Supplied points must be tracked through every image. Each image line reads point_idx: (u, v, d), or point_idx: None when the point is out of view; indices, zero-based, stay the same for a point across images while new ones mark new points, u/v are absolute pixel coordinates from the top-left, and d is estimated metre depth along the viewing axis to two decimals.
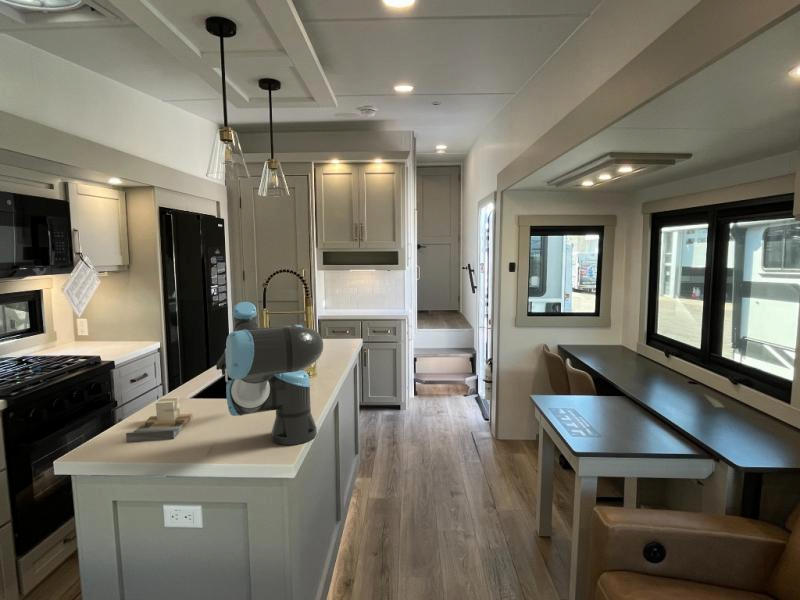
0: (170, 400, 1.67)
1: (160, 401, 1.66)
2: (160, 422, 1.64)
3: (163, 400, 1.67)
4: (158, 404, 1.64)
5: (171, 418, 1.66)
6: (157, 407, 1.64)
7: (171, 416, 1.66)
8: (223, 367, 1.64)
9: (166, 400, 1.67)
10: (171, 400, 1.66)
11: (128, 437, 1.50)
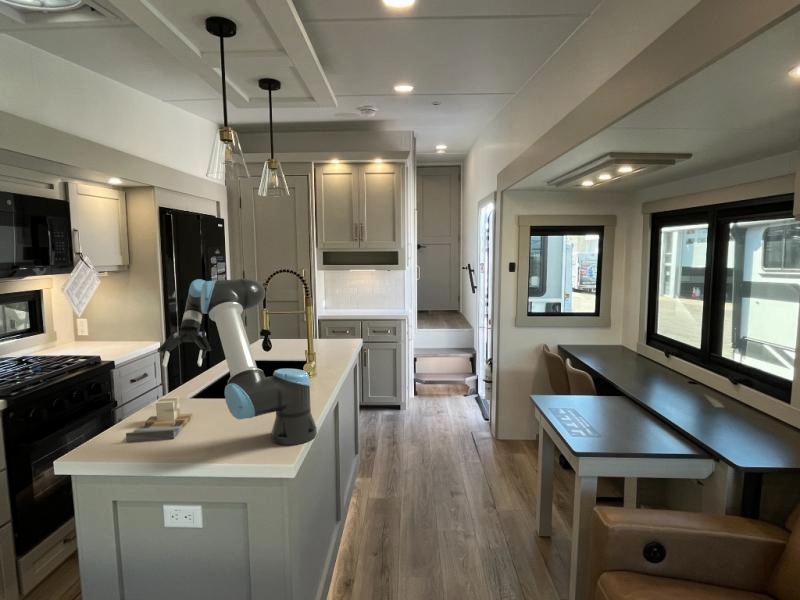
0: (170, 400, 1.67)
1: (160, 401, 1.66)
2: (160, 422, 1.64)
3: (163, 400, 1.67)
4: (158, 404, 1.64)
5: (171, 418, 1.66)
6: (157, 407, 1.64)
7: (171, 416, 1.66)
8: (165, 347, 1.86)
9: (166, 400, 1.67)
10: (171, 400, 1.66)
11: (128, 437, 1.50)
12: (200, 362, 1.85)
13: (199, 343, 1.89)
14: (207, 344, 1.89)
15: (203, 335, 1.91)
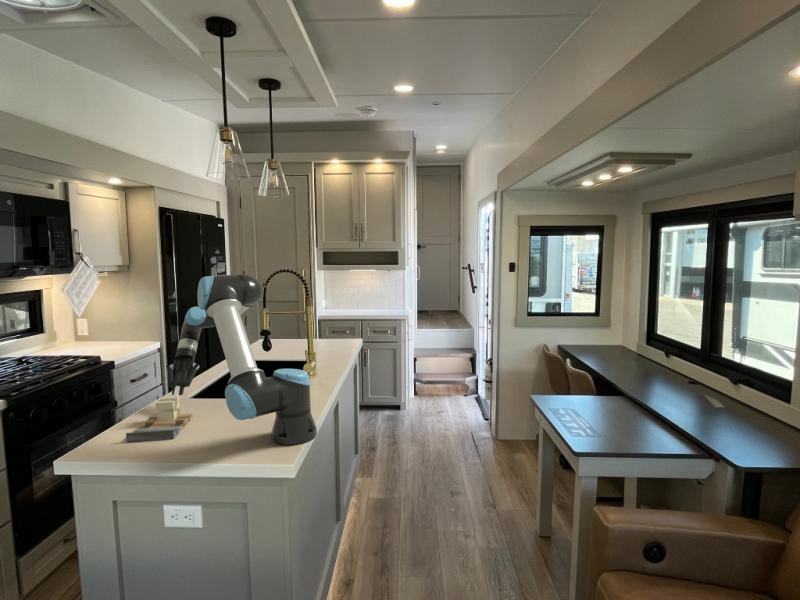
0: (170, 400, 1.67)
1: (160, 401, 1.66)
2: (160, 422, 1.64)
3: (163, 400, 1.67)
4: (158, 404, 1.64)
5: (171, 418, 1.66)
6: (157, 407, 1.64)
7: (171, 416, 1.66)
8: (173, 383, 1.80)
9: (166, 400, 1.67)
10: (171, 400, 1.66)
11: (128, 437, 1.50)
12: None
13: (183, 377, 1.81)
14: (188, 379, 1.81)
15: (193, 368, 1.84)
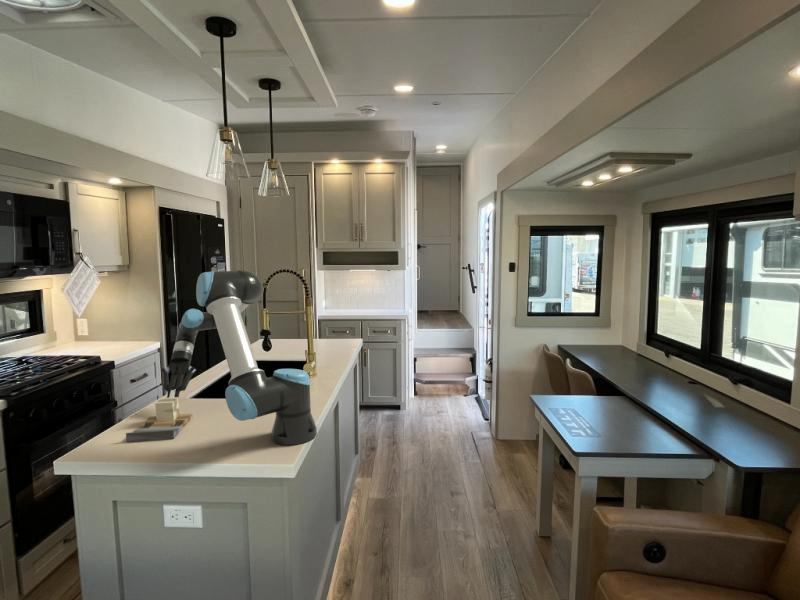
0: (170, 400, 1.66)
1: (159, 401, 1.66)
2: (160, 422, 1.64)
3: (162, 400, 1.67)
4: (157, 404, 1.64)
5: (171, 418, 1.65)
6: (156, 407, 1.64)
7: (170, 417, 1.65)
8: (168, 387, 1.75)
9: (166, 400, 1.66)
10: (171, 401, 1.66)
11: (128, 437, 1.50)
12: None
13: (178, 380, 1.77)
14: (183, 383, 1.77)
15: (189, 372, 1.80)
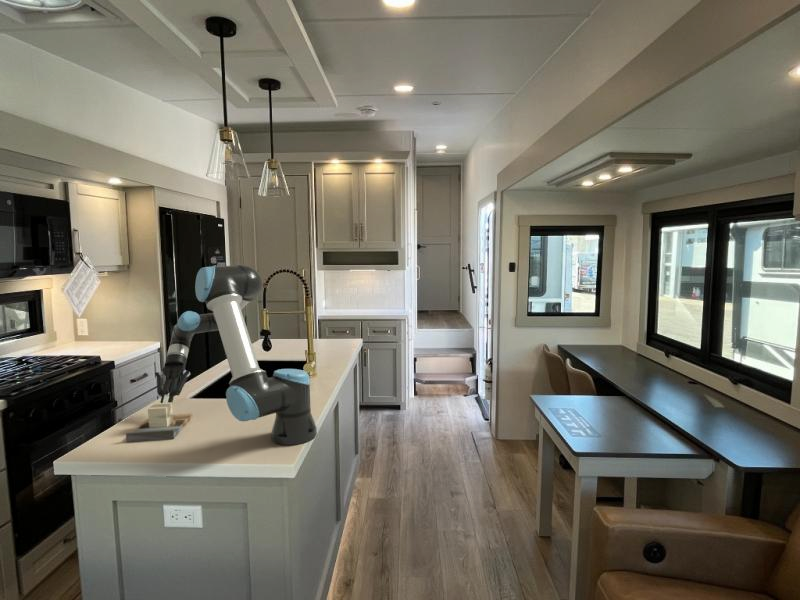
0: (163, 406, 1.61)
1: (152, 407, 1.60)
2: None
3: (155, 406, 1.61)
4: (150, 410, 1.58)
5: (164, 425, 1.59)
6: (149, 413, 1.58)
7: (164, 423, 1.59)
8: (162, 391, 1.70)
9: (159, 406, 1.61)
10: (164, 406, 1.60)
11: (128, 437, 1.50)
12: None
13: (172, 385, 1.72)
14: (177, 388, 1.71)
15: (183, 376, 1.74)
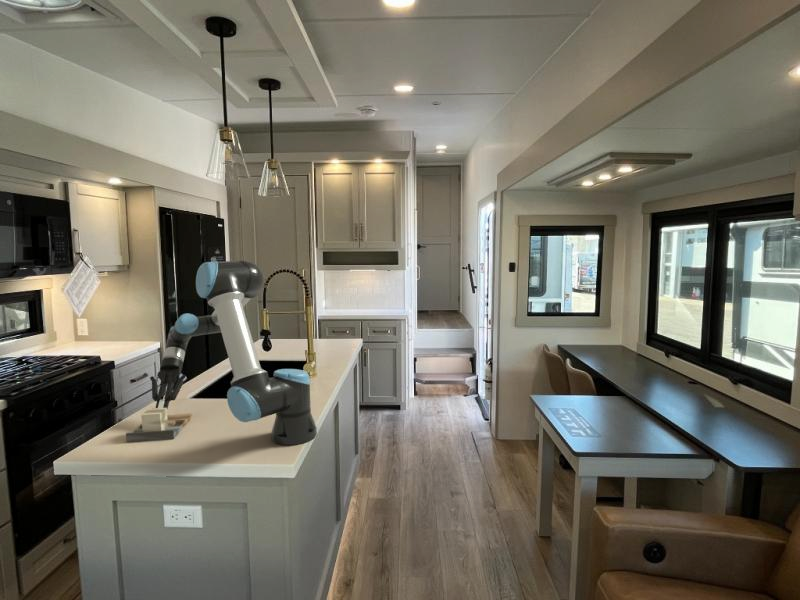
0: (157, 411, 1.55)
1: (146, 413, 1.54)
2: None
3: (149, 411, 1.55)
4: (144, 416, 1.52)
5: None
6: (143, 419, 1.53)
7: (158, 429, 1.54)
8: (157, 396, 1.64)
9: (153, 412, 1.55)
10: (158, 412, 1.54)
11: (128, 437, 1.50)
12: None
13: (168, 389, 1.66)
14: (173, 392, 1.65)
15: (179, 380, 1.69)
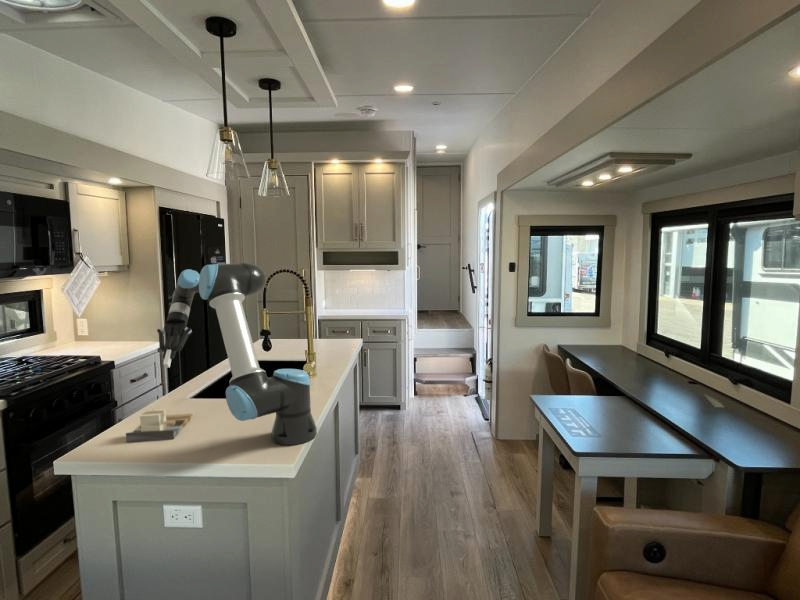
0: (156, 413, 1.54)
1: (145, 414, 1.53)
2: None
3: (148, 413, 1.54)
4: (143, 417, 1.51)
5: None
6: (141, 421, 1.51)
7: None
8: (164, 346, 1.72)
9: (152, 413, 1.54)
10: (157, 413, 1.53)
11: (128, 437, 1.50)
12: (168, 363, 1.69)
13: (174, 340, 1.74)
14: (179, 343, 1.74)
15: (185, 332, 1.77)
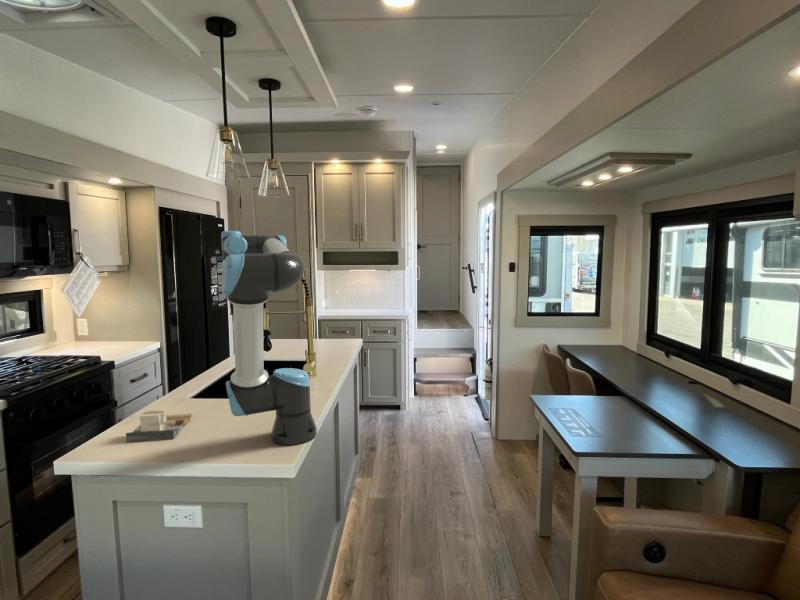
0: (156, 413, 1.54)
1: (145, 414, 1.53)
2: None
3: (148, 413, 1.54)
4: (143, 417, 1.51)
5: None
6: (141, 421, 1.51)
7: None
8: None
9: (152, 413, 1.54)
10: (157, 413, 1.53)
11: (128, 437, 1.50)
12: None
13: None
14: None
15: None
